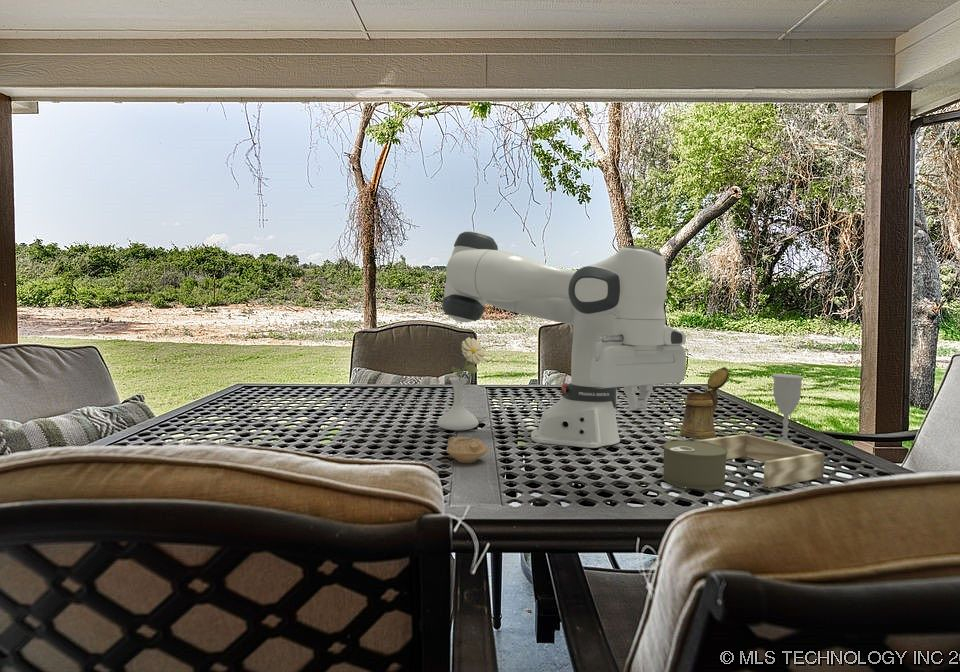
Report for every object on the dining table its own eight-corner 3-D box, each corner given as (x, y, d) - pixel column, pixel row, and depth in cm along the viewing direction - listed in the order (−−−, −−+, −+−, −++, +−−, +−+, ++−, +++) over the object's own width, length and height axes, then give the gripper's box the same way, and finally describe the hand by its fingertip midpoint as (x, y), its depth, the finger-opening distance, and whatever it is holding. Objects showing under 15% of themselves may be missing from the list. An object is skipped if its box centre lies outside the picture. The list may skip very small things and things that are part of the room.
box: (767, 488, 115) (769, 462, 115) (691, 463, 132) (692, 441, 132) (823, 477, 123) (824, 453, 123) (744, 455, 140) (745, 433, 140)
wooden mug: (736, 436, 160) (739, 368, 159) (697, 440, 154) (699, 370, 153) (711, 429, 168) (713, 365, 167) (672, 433, 163) (675, 366, 161)
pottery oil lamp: (467, 448, 141) (481, 424, 139) (480, 479, 130) (495, 453, 129) (434, 438, 138) (448, 413, 136) (445, 469, 127) (460, 442, 125)
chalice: (804, 454, 142) (808, 378, 140) (773, 452, 143) (776, 377, 142) (794, 447, 149) (798, 374, 148) (765, 445, 150) (768, 373, 149)
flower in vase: (445, 435, 156) (446, 339, 155) (431, 426, 167) (431, 336, 165) (491, 431, 161) (492, 338, 160) (474, 423, 172) (475, 335, 170)
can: (739, 487, 116) (741, 452, 115) (688, 493, 112) (689, 457, 111) (697, 470, 127) (699, 438, 127) (649, 475, 123) (650, 442, 123)
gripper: (606, 336, 103) (604, 416, 104) (692, 335, 113) (690, 408, 113) (583, 334, 109) (581, 410, 110) (667, 333, 118) (665, 402, 119)
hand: (637, 409), depth 112 cm, fingers closed
